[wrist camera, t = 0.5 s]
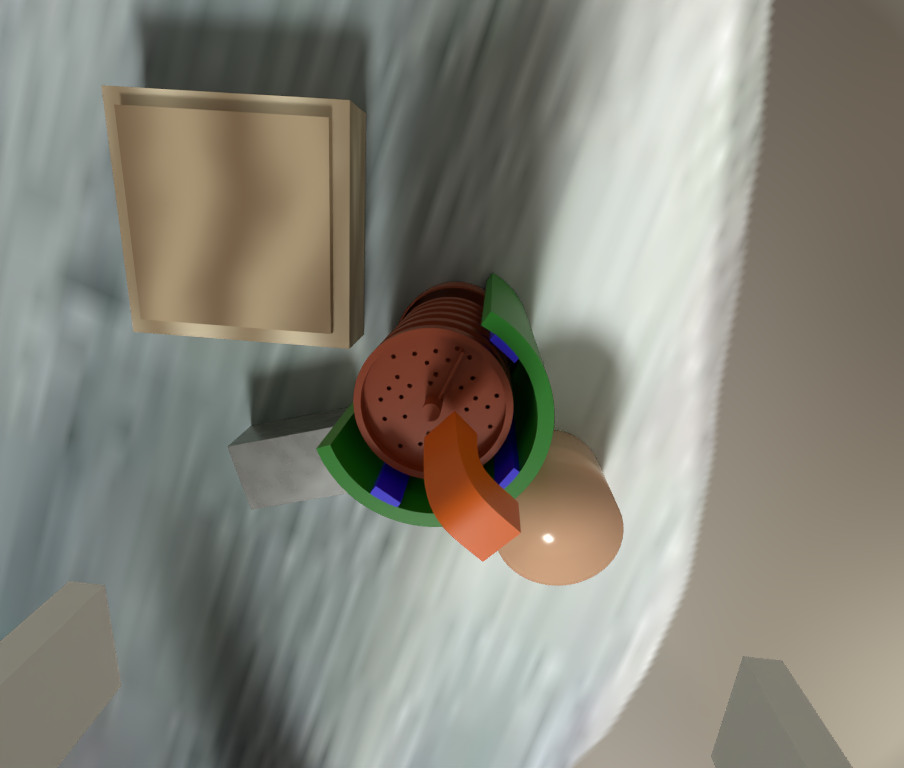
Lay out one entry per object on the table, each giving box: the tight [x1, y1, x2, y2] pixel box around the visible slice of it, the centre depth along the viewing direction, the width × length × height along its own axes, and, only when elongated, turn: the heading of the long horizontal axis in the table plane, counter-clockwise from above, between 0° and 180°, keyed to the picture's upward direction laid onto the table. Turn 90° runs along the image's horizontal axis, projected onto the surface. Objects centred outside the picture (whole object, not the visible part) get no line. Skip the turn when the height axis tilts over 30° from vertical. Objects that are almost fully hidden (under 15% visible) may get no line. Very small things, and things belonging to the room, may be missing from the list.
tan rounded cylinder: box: [498, 430, 623, 586], centre depth 36 cm, size 8×8×7 cm
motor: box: [316, 273, 554, 561], centre depth 27 cm, size 10×9×20 cm
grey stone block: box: [228, 407, 348, 509], centre depth 38 cm, size 8×5×4 cm, turn 103°
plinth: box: [101, 85, 366, 349], centre depth 32 cm, size 14×14×5 cm
